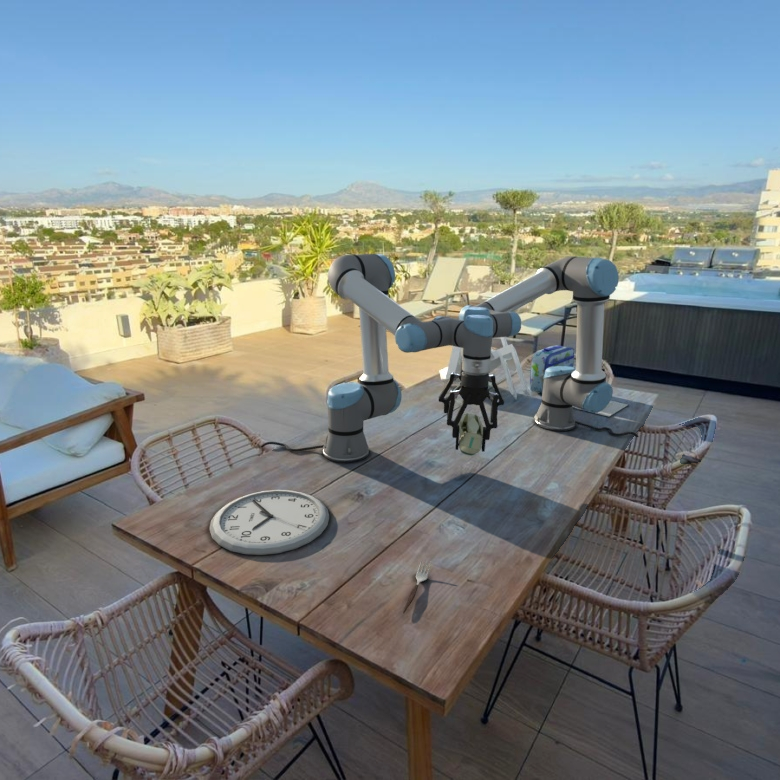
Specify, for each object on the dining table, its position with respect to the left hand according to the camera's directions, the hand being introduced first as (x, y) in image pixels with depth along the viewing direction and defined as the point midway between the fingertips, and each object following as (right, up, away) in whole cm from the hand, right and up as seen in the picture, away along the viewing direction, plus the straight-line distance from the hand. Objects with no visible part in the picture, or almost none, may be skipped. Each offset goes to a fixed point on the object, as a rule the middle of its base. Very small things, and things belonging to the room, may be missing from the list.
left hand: (469, 448), depth 151 cm
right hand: (+2, +6, +15) cm, 16 cm away
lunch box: (+53, +17, +97) cm, 112 cm away
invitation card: (+69, +10, +75) cm, 102 cm away
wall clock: (-54, -17, -16) cm, 59 cm away
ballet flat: (+2, +2, +8) cm, 8 cm away
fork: (-18, -25, -41) cm, 51 cm away
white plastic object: (+19, +16, +92) cm, 96 cm away
